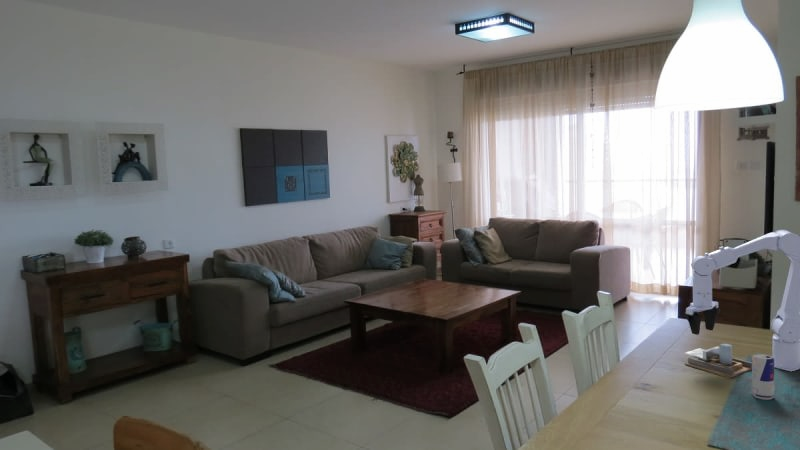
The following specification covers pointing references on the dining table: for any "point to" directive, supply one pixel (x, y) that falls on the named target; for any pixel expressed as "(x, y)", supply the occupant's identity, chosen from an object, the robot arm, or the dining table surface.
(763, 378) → the energy drink
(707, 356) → the cover
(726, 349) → the light blue rounded cylinder
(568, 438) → the dining table surface
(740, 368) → the wooden square tray
